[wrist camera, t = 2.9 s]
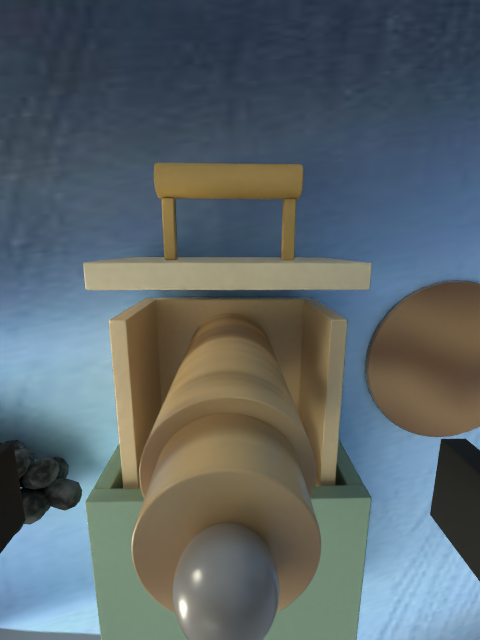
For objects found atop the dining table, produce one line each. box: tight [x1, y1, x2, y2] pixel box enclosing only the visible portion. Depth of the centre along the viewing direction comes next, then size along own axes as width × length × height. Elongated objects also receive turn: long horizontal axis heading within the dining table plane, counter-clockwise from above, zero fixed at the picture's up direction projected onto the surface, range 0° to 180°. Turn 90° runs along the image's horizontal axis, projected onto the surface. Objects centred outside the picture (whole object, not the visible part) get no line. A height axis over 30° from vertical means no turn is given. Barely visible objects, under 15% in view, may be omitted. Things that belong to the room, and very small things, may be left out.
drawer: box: [83, 163, 372, 489], centre depth 19 cm, size 20×13×7 cm, turn 0°
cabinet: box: [85, 439, 371, 640], centre depth 22 cm, size 17×14×9 cm
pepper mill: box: [131, 313, 321, 640], centre depth 14 cm, size 5×5×16 cm
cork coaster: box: [366, 281, 480, 437], centre depth 24 cm, size 12×12×1 cm
